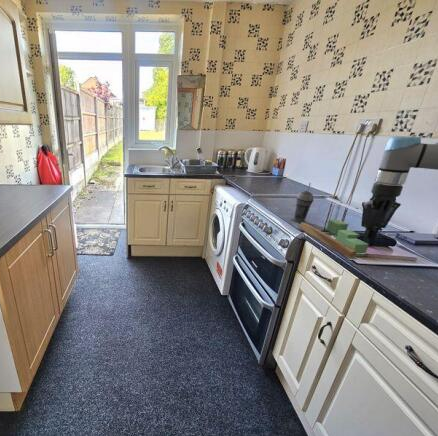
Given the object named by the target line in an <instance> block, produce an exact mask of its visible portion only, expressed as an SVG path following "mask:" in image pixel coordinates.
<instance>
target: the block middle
mask: <svg viewBox="0 0 438 436" xmlns="http://www.w3.org/2000/svg"><path fill="white" fill-rule="evenodd" d="M358 235H360V234H359V233H357V232H355V231H353V230H351V229H347V230H338V233H337V234H336V236H335V239H336V240H338V241H340V242H341V243H343V244H344V241H345V239H354V238H357V237H358Z"/></svg>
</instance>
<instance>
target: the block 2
mask: <svg viewBox="0 0 438 436" xmlns="http://www.w3.org/2000/svg"><path fill="white" fill-rule="evenodd" d="M344 244H345V245H347V246H349V247H350V248H352V249H354V250H356V251H357V253H365V254H356V256H355V257H365V256H366V253H367V250H368V248H369V247H368V245H369V244H367V243H365V242H363V240H361V239H357V238H354V239H345V241H344Z"/></svg>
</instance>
